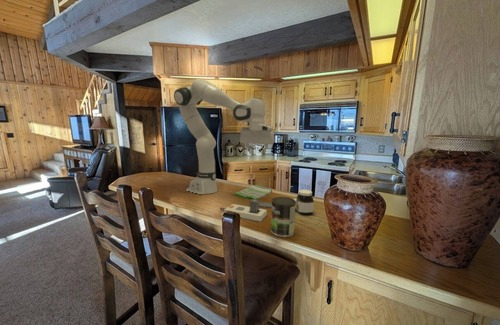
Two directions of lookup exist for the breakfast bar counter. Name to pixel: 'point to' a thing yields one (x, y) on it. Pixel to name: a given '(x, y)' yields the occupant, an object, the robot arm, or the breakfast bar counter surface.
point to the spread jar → (304, 202)
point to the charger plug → (254, 206)
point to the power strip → (246, 212)
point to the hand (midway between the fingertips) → (256, 151)
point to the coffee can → (283, 216)
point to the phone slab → (265, 205)
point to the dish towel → (253, 192)
